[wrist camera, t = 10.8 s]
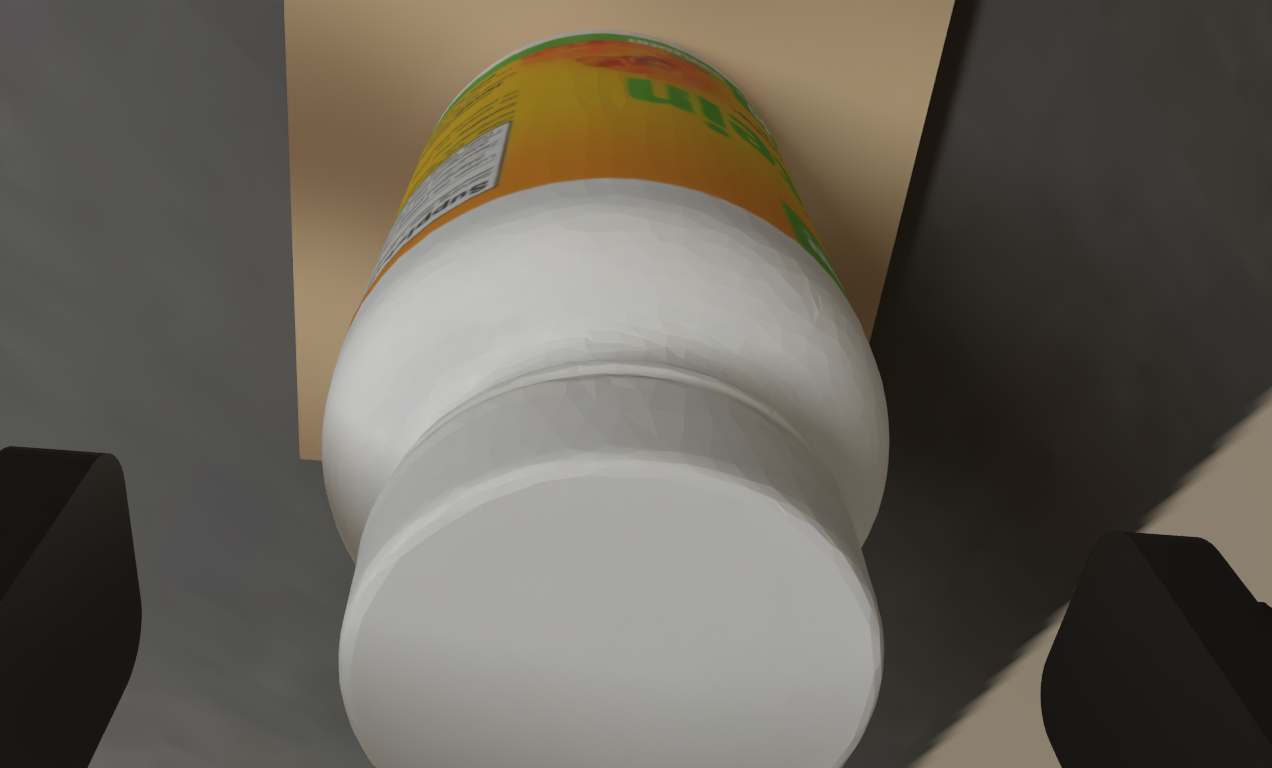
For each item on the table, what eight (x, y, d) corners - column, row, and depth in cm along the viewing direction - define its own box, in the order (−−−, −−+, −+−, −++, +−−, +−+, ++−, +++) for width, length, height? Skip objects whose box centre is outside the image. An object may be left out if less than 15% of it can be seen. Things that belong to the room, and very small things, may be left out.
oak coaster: (289, -141, 15) (278, -136, 14) (954, -58, 15) (967, -52, 15) (307, 439, 19) (299, 458, 18) (824, 478, 20) (830, 497, 19)
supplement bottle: (858, 195, 16) (1142, 662, 8) (615, 427, 18) (638, 1004, 10) (584, -67, 15) (579, 185, 6) (343, 222, 16) (84, 723, 8)
